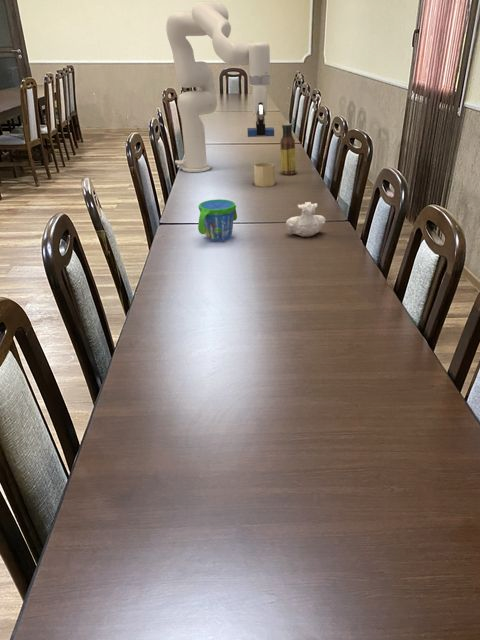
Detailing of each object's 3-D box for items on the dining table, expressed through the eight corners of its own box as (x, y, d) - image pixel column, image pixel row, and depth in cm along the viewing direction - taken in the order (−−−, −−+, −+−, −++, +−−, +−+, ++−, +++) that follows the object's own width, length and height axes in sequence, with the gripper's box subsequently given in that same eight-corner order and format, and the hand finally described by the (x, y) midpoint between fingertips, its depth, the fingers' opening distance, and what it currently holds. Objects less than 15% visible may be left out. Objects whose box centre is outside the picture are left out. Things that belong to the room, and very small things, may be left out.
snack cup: (213, 249, 152) (210, 213, 146) (187, 241, 158) (184, 207, 152) (249, 234, 162) (248, 201, 157) (224, 228, 168) (222, 195, 163)
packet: (247, 137, 203) (247, 130, 201) (247, 134, 207) (247, 127, 206) (274, 136, 203) (274, 129, 202) (273, 134, 208) (273, 127, 206)
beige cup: (255, 186, 212) (254, 167, 208) (254, 182, 219) (253, 162, 215) (275, 186, 212) (275, 166, 208) (273, 181, 219) (273, 162, 215)
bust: (286, 243, 161) (292, 221, 150) (282, 222, 163) (287, 199, 153) (325, 240, 163) (333, 218, 152) (320, 219, 165) (328, 196, 155)
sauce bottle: (296, 172, 233) (296, 122, 223) (295, 175, 227) (295, 125, 217) (281, 172, 233) (280, 122, 223) (279, 175, 228) (279, 125, 218)
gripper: (248, 79, 203) (250, 130, 212) (250, 83, 188) (251, 138, 197) (268, 79, 203) (269, 130, 212) (271, 82, 188) (271, 137, 198)
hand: (260, 133), depth 205 cm, fingers closed on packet, 5 cm apart
